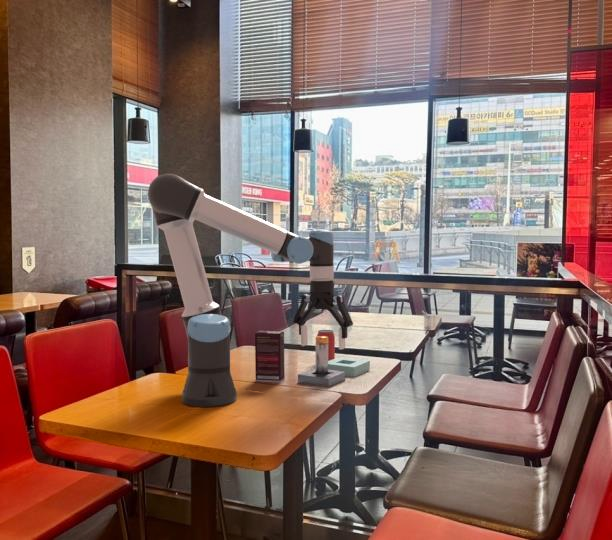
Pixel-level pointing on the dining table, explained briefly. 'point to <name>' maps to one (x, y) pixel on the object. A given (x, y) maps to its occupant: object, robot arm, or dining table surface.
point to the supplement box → (269, 356)
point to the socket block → (349, 366)
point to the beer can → (329, 342)
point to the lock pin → (321, 355)
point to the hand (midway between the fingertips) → (322, 347)
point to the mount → (321, 378)
